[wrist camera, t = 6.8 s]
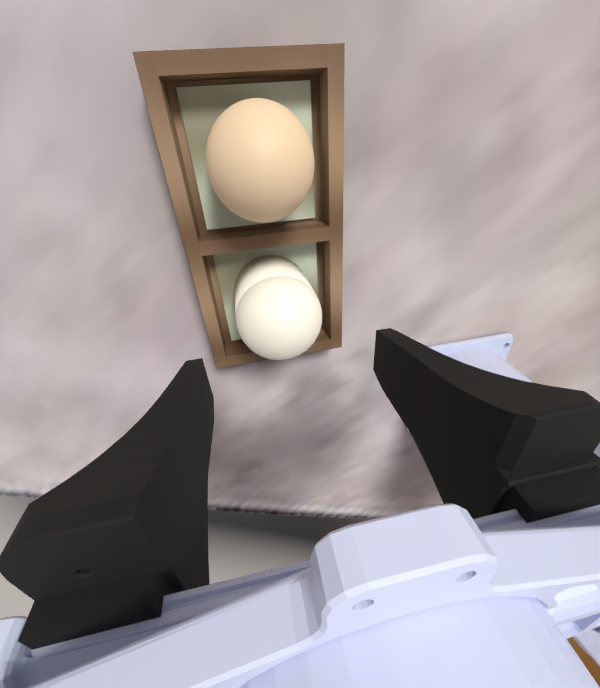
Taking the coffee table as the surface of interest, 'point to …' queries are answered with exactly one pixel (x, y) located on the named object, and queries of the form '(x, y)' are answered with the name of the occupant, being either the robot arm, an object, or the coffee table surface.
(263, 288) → the cream egg
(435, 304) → the coffee table surface
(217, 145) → the brown egg
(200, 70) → the egg crate
